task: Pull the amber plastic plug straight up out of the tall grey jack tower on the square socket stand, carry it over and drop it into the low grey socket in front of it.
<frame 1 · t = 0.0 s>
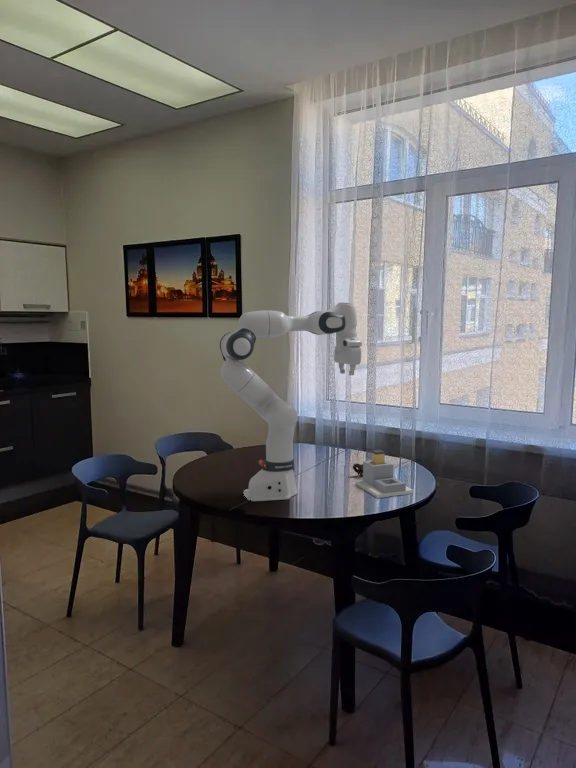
hand: (346, 374, 224), 48 cm above the table, tool pointing down, fingers open, 8 cm apart
square socket stand: (383, 488, 222), on the table
pottery mug: (366, 477, 240), on the table
plug: (378, 469, 226), point 7 cm above the table, touching square socket stand
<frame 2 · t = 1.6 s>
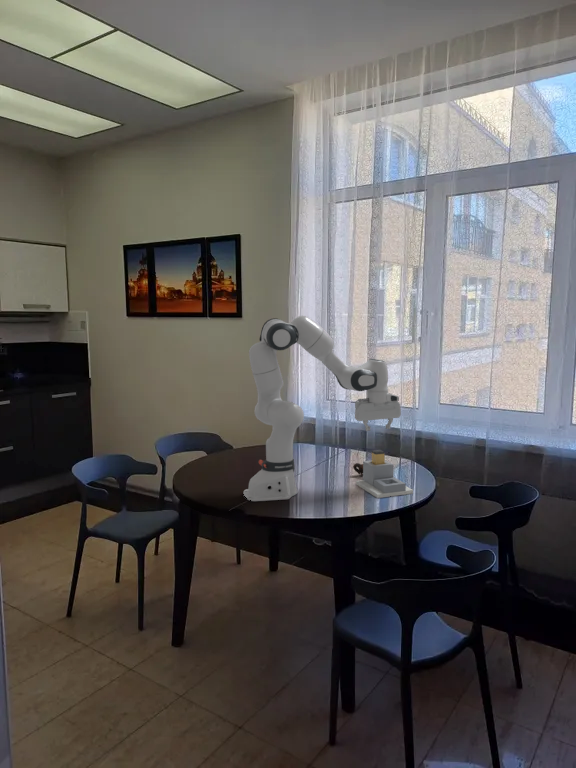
hand: (378, 429, 224), 24 cm above the table, tool pointing down, fingers open, 8 cm apart
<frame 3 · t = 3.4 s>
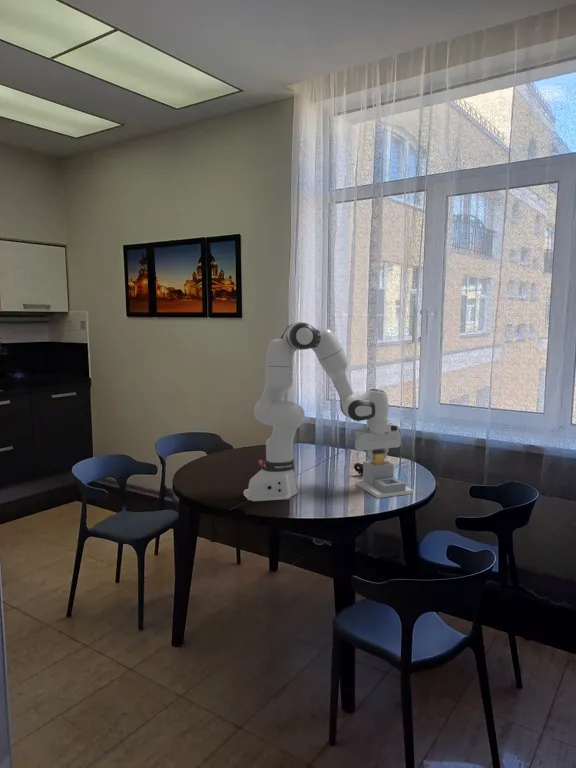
hand: (378, 459, 225), 12 cm above the table, tool pointing down, fingers closed on plug, 4 cm apart
plug: (378, 469, 226), point 7 cm above the table, touching gripper, square socket stand
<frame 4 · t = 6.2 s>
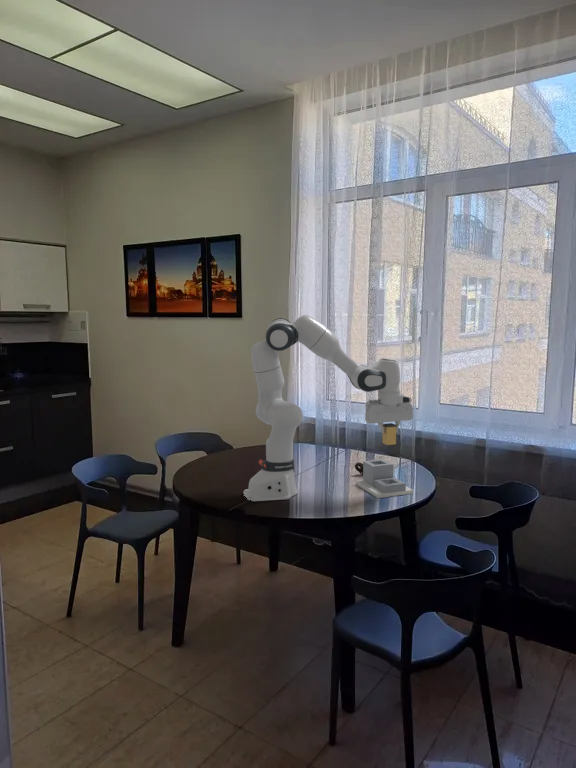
hand: (389, 432, 214), 25 cm above the table, tool pointing down, fingers closed on plug, 4 cm apart
plug: (389, 443, 215), point 20 cm above the table, touching gripper
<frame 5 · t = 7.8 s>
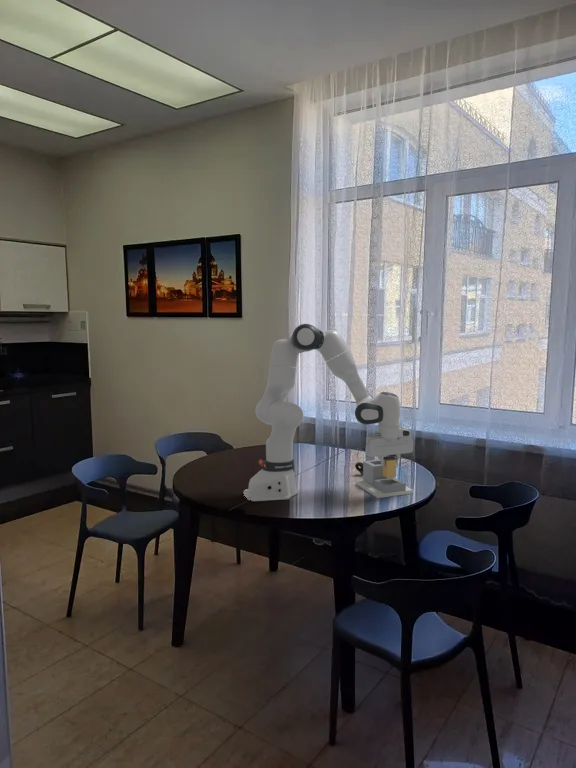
hand: (389, 465, 216), 11 cm above the table, tool pointing down, fingers closed on plug, 4 cm apart
plug: (389, 476, 216), point 7 cm above the table, touching gripper
when the fingers open (7 cm above the table, at t = 9.1 s): plug stays where it is, resting on square socket stand.
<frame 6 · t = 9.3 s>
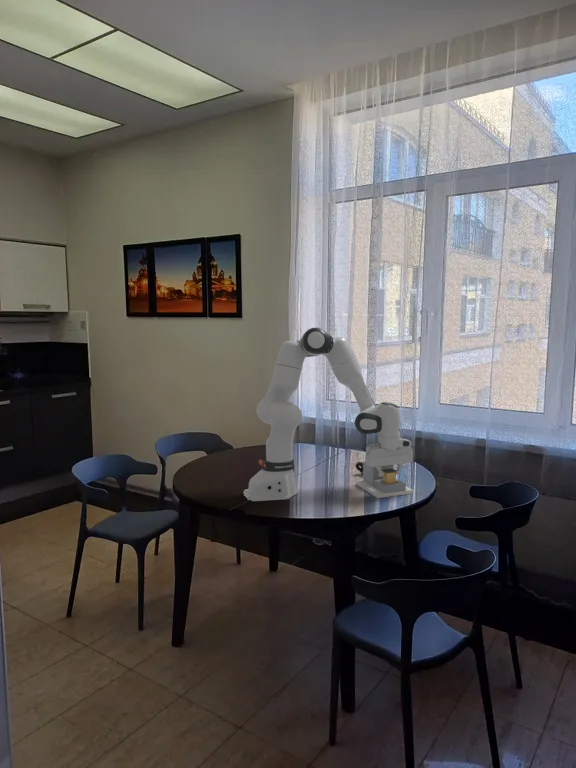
hand: (389, 475, 216), 7 cm above the table, tool pointing down, fingers open, 6 cm apart
plug: (389, 488, 217), point 1 cm above the table, touching square socket stand
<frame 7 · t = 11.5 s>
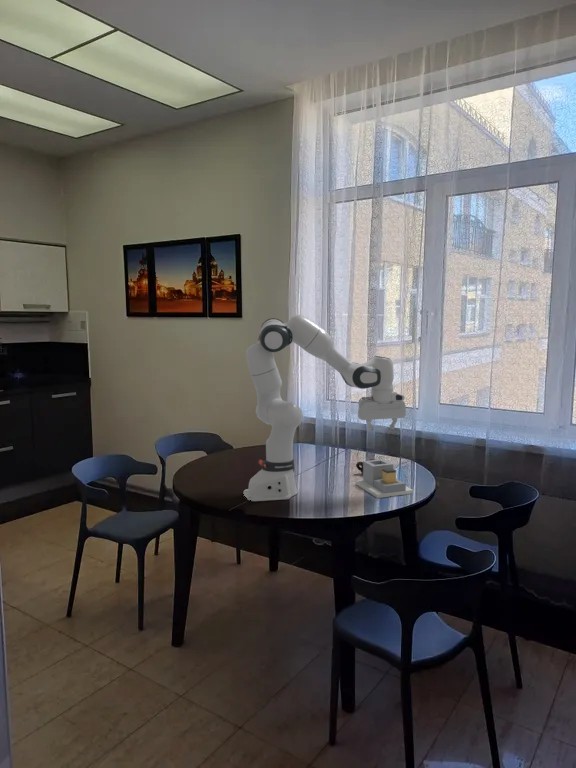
hand: (381, 429, 216), 26 cm above the table, tool pointing down, fingers open, 8 cm apart
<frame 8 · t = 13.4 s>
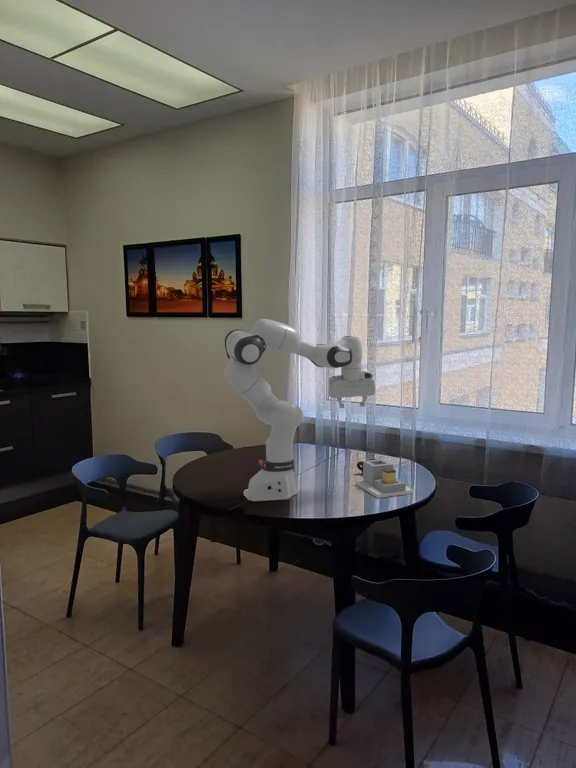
hand: (352, 407, 224), 34 cm above the table, tool pointing down, fingers open, 8 cm apart
at the end: plug 0.1 cm from the target spot on the square socket stand, point 1.5 cm above the square socket stand's base; plug tilted 0°; the gripper is holding nothing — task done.
